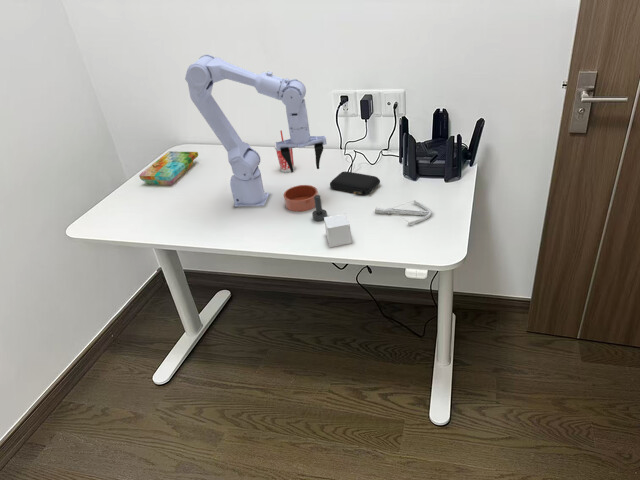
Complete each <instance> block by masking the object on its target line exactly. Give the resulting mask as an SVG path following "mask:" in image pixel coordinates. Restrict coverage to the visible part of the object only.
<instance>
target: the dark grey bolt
mask: <svg viewBox="0 0 640 480" xmlns="http://www.w3.org/2000/svg"><path fill="white" fill-rule="evenodd" d="M314 201H315V208H314V209H315V210H313V211H312V212H311V215H312V221H315V222H318V223H319V222H320V223H321V222H324V217H328V212H327V210H326V209H323V206H322V205H323V204H322V199H321V195H319V194H318V195H316V196H314Z"/></svg>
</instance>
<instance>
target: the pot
mask: <svg viewBox="0 0 640 480" xmlns="http://www.w3.org/2000/svg"><path fill="white" fill-rule="evenodd" d="M316 195H319V191H318V188H316V187H315V186H313V185H309V184H300V185H294V186H292V187H289V188H287V189H286V190H285V191H284V193H283V199H284V200H283V201H284V206H285V208H286V209H287V210H289V211H291V212H296V213H299V212H300V213H301V212H307V211H310V210H313V209H316V208H315V201H314V196H316Z"/></svg>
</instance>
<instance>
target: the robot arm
mask: <svg viewBox="0 0 640 480" xmlns="http://www.w3.org/2000/svg"><path fill="white" fill-rule="evenodd" d="M184 80H185V82H186V83H187V86H188V92H189V97H190V100H191V101H192V103H193V104H194V106H195V107H196V109H197V110H198V112H199V113H200V114H201V116H202V117H203V119H204V120H205V121H206V123H207V124H208V126H209V127H210V129H211V131H213V133H214V135H215V137H216V138H217V139H218V141H219V142H220V143H221V145H222V146H223V148H224V149H225V151H226V152H227V160H228V161H227V162H228V163H229V165H230V167H231V170H232V174H233V175H231V176H230V181H229V183H230V185H229V186H230V191H231V195H232V199H233V203H234V204H233V207H234V208H235V207H236V208H239V207H261V206H262V207H263V206H264V205H265V204H266V202H267V199H268V197H269V196H270V192H266V191H265V188H264V183H263V182H264V181H263V177H262V172H261V170H260V168H259V165H260V163H261V156H260V153H258V151H257V150H255V149H254V148H252V146H251V145H250V144H249V143H248V142H245V141H243V140H242V138H241V137H240V135H239V133H238V132H237V130H236V129H235V128H234V126H233V125H232V123H231V122H230V120H229V119H228V117H227V116H226V114H225V113H224V112H223V109H222V108H221V107H220V105H219V104H218V102H217V101H216V100H215V98H214V97H213V95H212V91H213V87H214V84H215V83H218V82H220V81H223V80H229V81H232V82H236V83H239V84H243V85H247V86H250V87H253V88H254V89H255V90H256V92H257V93H258V94H260V95H263V96H266V97H269V98H272V99H275V100H277V101H281V102H282V104H283V105H284V106H285V112H286V119H287V126H288V131H289V138H288V139H283V141H282V140H281V141H276V142H275V144H276V149H277V151H280V150H281V154H282V156H283V157H284V159H285V160H286V162H287V163H288V165H289V167H290V170H291V172H290V173H292V174H293V173H294V170H293V165H292V161H291V156H290V150H289V148H292V149H296V148H298V149H302V148H306V147H312V146H313V147H314V154H315V167H316V170H320V163H321V158H322V154H323V151H324V146H325V145H327V137H326V135H311V131H310V124H309V117H308V110H307V106H306V105H307V104H306V100H305V97H306V93H307V89H306V86H305V84H304V83H303V82H302V81H300V80H299V79H296V78H293V79H289V78H288V77H286V78H282V77H280V76H276V75H274V74H273V72H272V71H267V72H265V71H262V72H261V73H259V74H258V73H255V72H252V71H250V70H248V69H246V68H243V67H240V66H238V65H235V64H233V63H231V62H228V61H226V60H224V59H222V58H221V57H218V56H213V55H211V54H203V55H201V56H200V57H199V58H198V59H197V60H196V61H195V62H193V63H192V64H190V65H188V67H187V70H186V73H185V77H184ZM276 149H275V150H276Z"/></svg>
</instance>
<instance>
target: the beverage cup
mask: <svg viewBox="0 0 640 480" xmlns="http://www.w3.org/2000/svg"><path fill="white" fill-rule="evenodd" d="M279 132H280V137H281V141H284V136H283V131H282V130H280V131H279ZM273 147H274V150H275V152H276V156H277V160H278V165H279V168H280V171H281V172H282V173H291V170H290V167H289V165H288V163H287V162H286V160H285V159H284V157H283V156H282V154H281V150H280V151H277V149H276V143H275V144H274V146H273ZM289 150H290V156H291V161H292V165H293V171H294V170H295V162H294V152H293V148H289Z"/></svg>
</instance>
